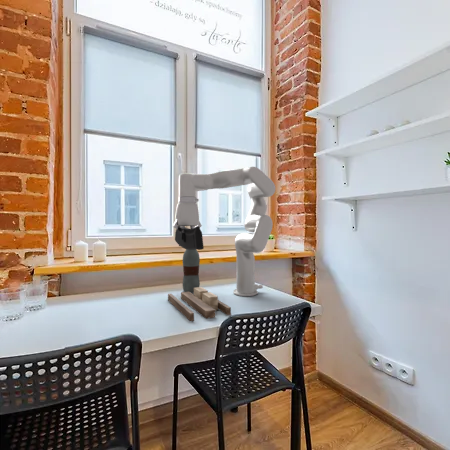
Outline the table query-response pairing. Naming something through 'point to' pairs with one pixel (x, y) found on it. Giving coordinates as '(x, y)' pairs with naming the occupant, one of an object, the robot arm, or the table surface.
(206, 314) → the rack
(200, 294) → the offcut
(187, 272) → the bottle
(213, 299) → the offcut
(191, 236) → the magazine
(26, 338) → the table surface
